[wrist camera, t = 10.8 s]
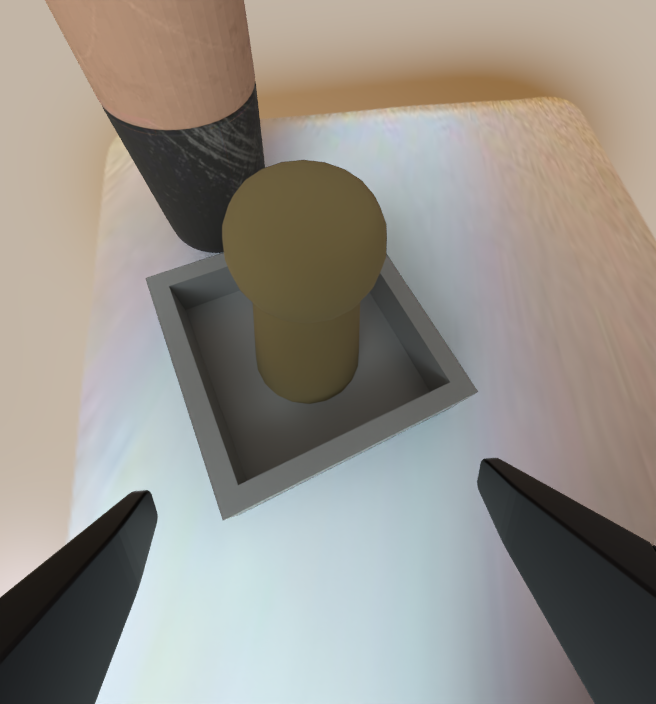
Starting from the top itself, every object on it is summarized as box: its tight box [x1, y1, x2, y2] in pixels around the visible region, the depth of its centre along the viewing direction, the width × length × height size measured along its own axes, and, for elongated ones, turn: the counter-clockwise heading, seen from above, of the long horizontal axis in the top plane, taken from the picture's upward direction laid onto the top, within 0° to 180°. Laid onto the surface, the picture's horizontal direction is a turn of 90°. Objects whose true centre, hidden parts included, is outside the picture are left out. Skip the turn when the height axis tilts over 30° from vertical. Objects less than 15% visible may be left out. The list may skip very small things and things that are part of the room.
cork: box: [222, 160, 387, 404], centre depth 14 cm, size 6×6×11 cm
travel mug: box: [45, 0, 265, 253], centre depth 15 cm, size 8×8×20 cm
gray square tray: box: [146, 253, 478, 520], centre depth 18 cm, size 13×13×4 cm
